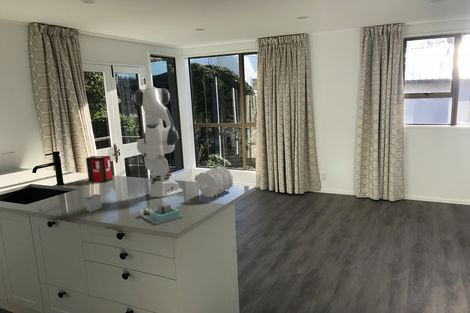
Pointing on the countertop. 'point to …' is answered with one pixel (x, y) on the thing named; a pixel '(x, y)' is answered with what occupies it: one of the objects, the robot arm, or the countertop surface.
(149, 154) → the robot arm
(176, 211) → the end holder
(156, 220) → the board
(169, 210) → the block
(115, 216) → the countertop surface
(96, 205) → the medicine box
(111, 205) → the countertop surface
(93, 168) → the cleaning product box
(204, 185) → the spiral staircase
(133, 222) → the countertop surface
